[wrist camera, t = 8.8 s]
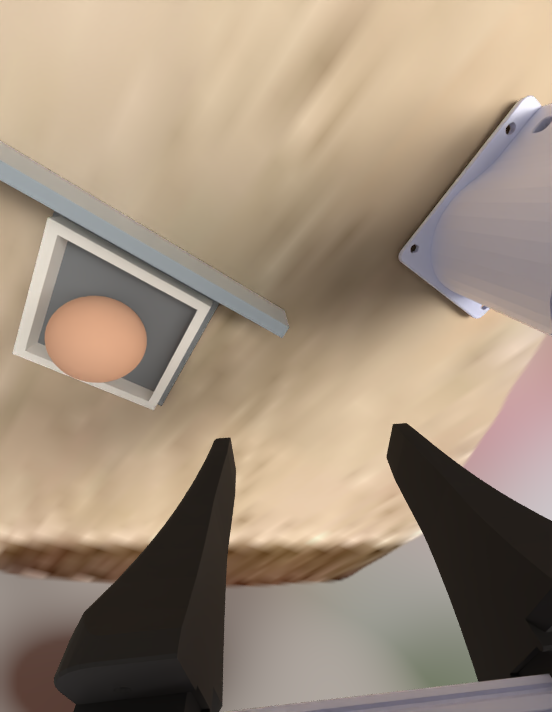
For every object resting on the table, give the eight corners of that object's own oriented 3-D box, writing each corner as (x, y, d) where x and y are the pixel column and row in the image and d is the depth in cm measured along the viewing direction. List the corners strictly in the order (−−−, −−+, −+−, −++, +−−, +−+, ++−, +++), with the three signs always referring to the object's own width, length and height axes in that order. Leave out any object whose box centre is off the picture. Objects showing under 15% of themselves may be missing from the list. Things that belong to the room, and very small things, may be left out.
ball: (76, 275, 17) (15, 301, 13) (161, 298, 18) (132, 329, 14) (76, 346, 19) (24, 389, 15) (153, 363, 20) (125, 408, 16)
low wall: (-22, 127, 14) (-86, 110, 11) (284, 310, 19) (289, 327, 17) (-24, 144, 14) (-87, 131, 12) (278, 319, 20) (282, 338, 17)
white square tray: (58, 204, 16) (41, 205, 14) (222, 297, 19) (219, 304, 17) (20, 345, 19) (3, 355, 18) (162, 403, 22) (156, 416, 21)
